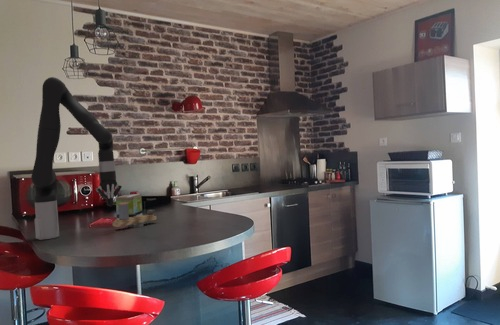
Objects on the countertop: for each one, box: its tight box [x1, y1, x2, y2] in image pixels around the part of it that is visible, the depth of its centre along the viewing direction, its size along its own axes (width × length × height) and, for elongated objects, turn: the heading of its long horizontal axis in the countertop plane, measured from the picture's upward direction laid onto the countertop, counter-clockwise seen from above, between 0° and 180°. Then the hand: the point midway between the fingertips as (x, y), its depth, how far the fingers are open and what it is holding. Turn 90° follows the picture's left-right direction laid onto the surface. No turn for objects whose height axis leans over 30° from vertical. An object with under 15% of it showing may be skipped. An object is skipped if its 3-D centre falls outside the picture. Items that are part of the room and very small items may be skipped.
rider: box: [118, 202, 129, 220], centre depth 196 cm, size 3×4×9 cm
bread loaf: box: [112, 209, 157, 229], centre depth 200 cm, size 22×7×7 cm, turn 136°
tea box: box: [115, 193, 143, 220], centre depth 218 cm, size 15×10×15 cm
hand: (110, 205), depth 191 cm, fingers closed
